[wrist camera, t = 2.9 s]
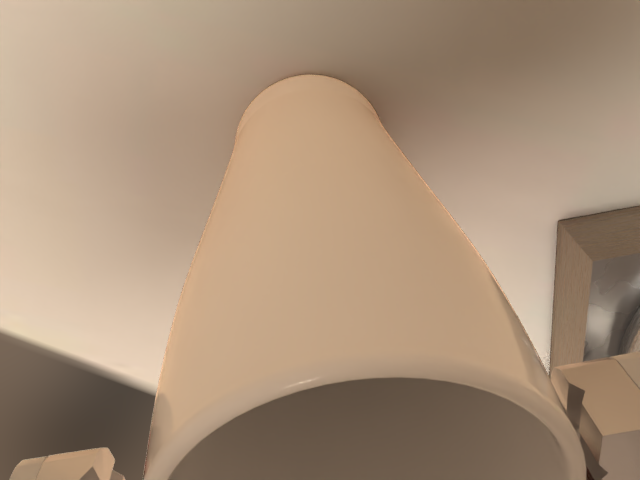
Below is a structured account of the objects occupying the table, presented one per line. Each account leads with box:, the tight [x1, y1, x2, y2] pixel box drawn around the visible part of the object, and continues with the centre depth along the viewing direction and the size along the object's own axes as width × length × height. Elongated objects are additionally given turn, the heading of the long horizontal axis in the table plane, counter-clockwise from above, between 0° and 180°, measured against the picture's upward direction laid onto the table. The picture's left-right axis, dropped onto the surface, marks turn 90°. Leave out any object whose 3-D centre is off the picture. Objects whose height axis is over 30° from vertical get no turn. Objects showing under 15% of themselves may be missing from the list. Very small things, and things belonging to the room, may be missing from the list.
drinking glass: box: [143, 75, 587, 480], centre depth 15 cm, size 7×7×15 cm
